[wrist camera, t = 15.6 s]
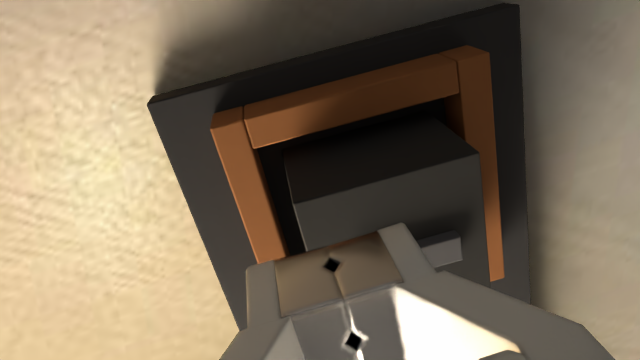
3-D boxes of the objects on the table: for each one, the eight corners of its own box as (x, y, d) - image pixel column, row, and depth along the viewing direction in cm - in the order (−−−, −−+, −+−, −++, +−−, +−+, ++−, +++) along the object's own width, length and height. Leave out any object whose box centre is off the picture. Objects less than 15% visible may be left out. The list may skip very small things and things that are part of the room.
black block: (315, 268, 18) (336, 355, 14) (280, 148, 15) (293, 210, 11) (442, 232, 18) (499, 308, 14) (425, 109, 16) (487, 157, 12)
